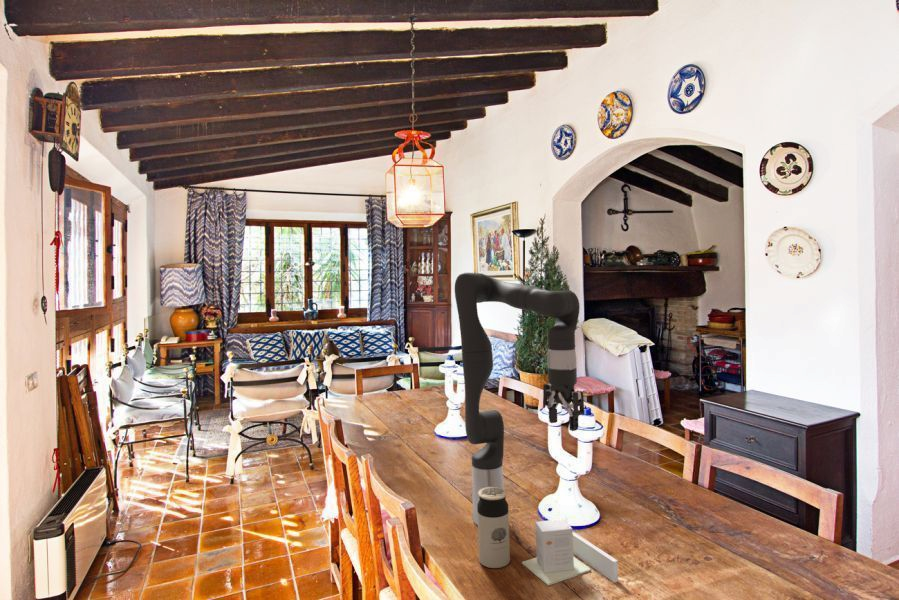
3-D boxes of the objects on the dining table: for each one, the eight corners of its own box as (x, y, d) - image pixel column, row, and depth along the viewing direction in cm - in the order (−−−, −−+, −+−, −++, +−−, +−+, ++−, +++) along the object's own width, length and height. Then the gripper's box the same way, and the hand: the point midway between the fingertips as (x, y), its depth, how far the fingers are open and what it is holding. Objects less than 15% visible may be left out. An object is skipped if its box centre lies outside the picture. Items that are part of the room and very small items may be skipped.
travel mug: (477, 553, 137) (475, 487, 137) (506, 551, 138) (504, 485, 137) (481, 570, 129) (479, 499, 129) (512, 568, 130) (510, 497, 129)
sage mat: (521, 563, 132) (521, 561, 132) (562, 550, 138) (562, 549, 137) (548, 585, 122) (548, 584, 122) (591, 570, 128) (590, 569, 128)
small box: (566, 558, 133) (565, 518, 133) (574, 570, 127) (573, 528, 127) (535, 561, 132) (534, 521, 131) (543, 573, 126) (541, 531, 126)
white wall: (561, 545, 140) (560, 527, 140) (564, 544, 141) (564, 526, 141) (614, 582, 122) (613, 561, 122) (618, 581, 123) (617, 560, 123)
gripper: (534, 363, 142) (536, 422, 142) (567, 371, 129) (569, 435, 129) (556, 361, 145) (558, 418, 146) (591, 368, 132) (592, 430, 133)
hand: (563, 426), depth 137 cm, fingers open, 8 cm apart
